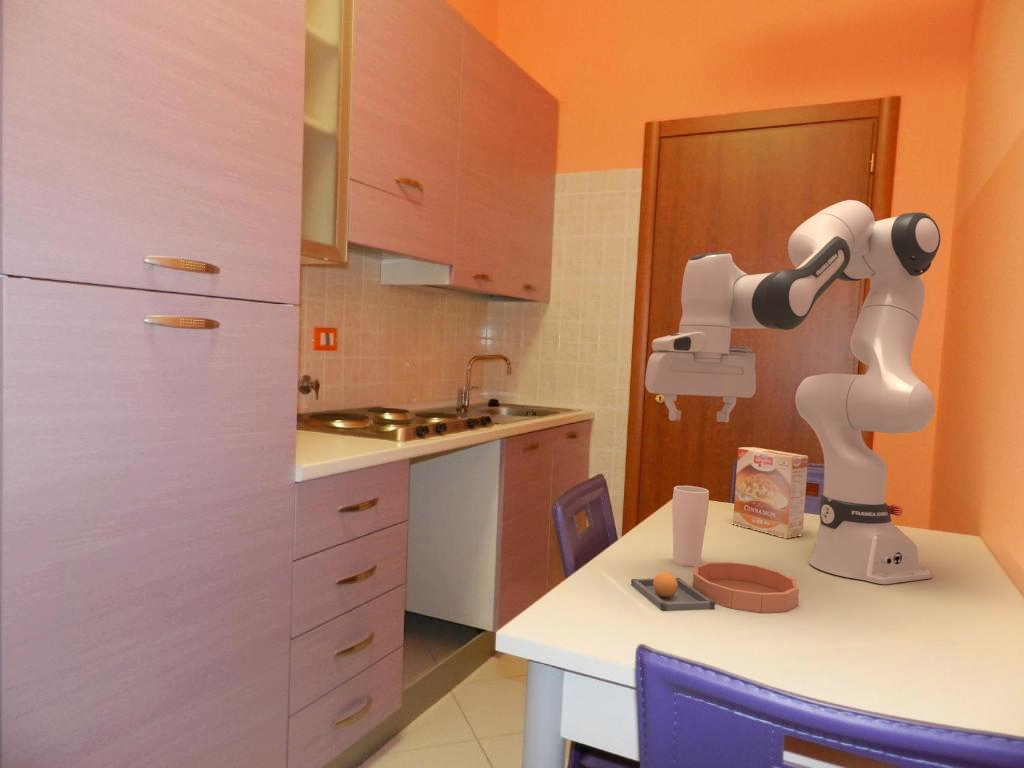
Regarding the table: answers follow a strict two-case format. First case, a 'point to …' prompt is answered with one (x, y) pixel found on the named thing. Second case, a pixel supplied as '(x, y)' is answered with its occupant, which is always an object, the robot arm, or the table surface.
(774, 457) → the coffeecake box
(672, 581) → the ball
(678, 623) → the table surface
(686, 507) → the drinking glass
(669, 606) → the tray
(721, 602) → the bowl
